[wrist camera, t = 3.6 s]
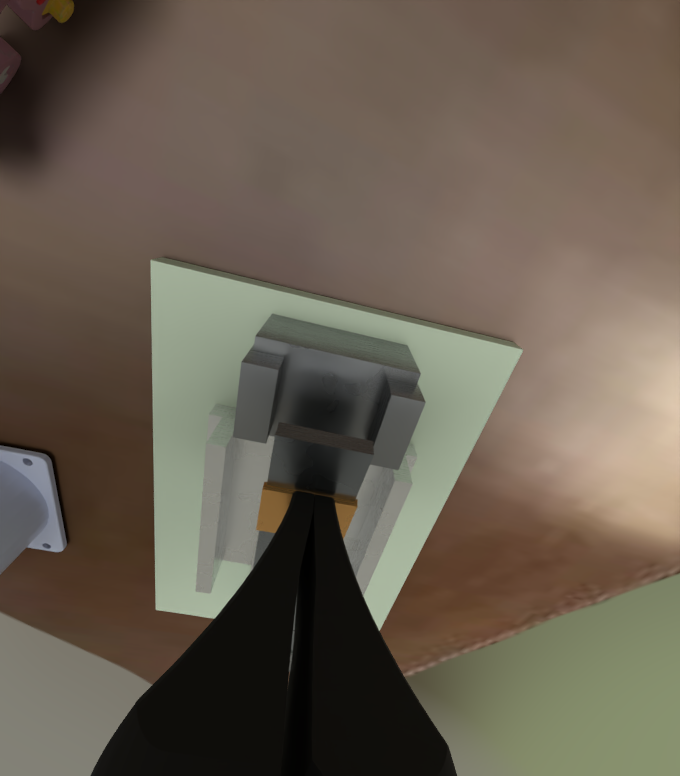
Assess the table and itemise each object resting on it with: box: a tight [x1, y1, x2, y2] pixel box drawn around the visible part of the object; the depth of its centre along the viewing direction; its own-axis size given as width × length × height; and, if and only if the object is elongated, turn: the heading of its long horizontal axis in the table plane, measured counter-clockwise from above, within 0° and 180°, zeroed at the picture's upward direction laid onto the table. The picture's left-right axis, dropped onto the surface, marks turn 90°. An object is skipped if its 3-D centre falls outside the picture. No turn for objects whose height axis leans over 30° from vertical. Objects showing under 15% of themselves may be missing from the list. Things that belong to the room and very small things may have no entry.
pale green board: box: [151, 257, 523, 631], centre depth 20 cm, size 16×24×1 cm, turn 167°
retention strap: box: [253, 422, 374, 650], centre depth 15 cm, size 3×16×1 cm, turn 166°
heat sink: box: [195, 404, 417, 596], centre depth 18 cm, size 10×10×3 cm
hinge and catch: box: [233, 314, 426, 672], centre depth 17 cm, size 6×20×4 cm, turn 167°
